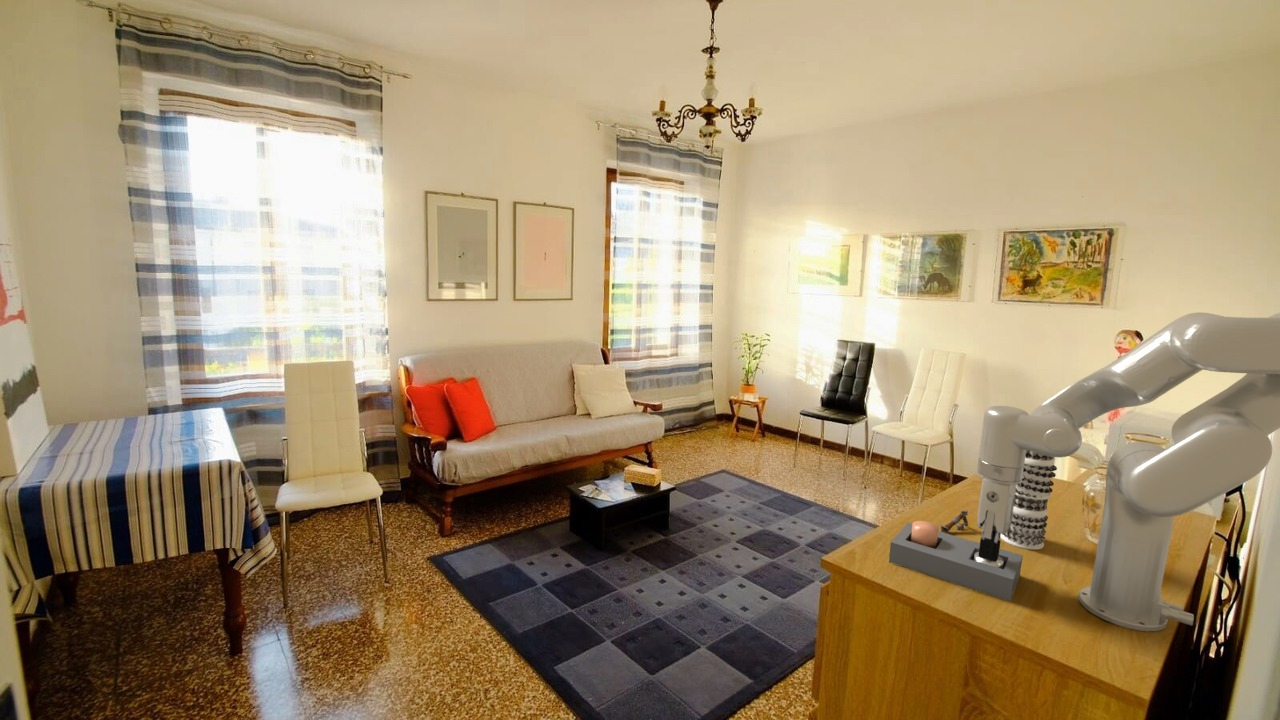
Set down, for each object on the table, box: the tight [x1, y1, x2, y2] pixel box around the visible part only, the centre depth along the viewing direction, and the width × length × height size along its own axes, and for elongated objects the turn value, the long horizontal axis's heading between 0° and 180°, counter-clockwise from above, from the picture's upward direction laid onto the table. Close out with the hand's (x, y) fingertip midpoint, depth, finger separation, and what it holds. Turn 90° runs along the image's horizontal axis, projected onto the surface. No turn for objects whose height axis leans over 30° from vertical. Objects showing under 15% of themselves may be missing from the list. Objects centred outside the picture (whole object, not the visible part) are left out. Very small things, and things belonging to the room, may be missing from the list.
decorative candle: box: [1000, 450, 1058, 551], centre depth 132 cm, size 9×9×25 cm
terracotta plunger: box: [911, 520, 940, 549], centre depth 125 cm, size 5×5×4 cm
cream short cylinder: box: [974, 552, 1004, 569], centre depth 118 cm, size 5×5×4 cm
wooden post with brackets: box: [940, 509, 970, 535], centre depth 139 cm, size 2×8×4 cm, turn 115°
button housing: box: [888, 522, 1024, 602], centre depth 121 cm, size 22×12×4 cm, turn 50°
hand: (988, 557), depth 117 cm, fingers closed
